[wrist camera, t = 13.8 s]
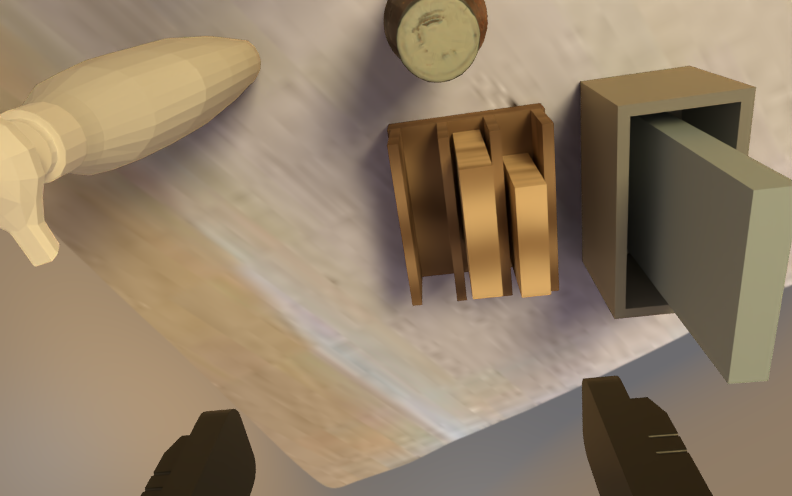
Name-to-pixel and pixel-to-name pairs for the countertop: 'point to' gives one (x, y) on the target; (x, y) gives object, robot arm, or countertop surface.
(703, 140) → the tall sheet
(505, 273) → the rack
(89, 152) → the soap bottle
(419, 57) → the sauce bottle
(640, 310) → the bin
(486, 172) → the oak offcut
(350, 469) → the countertop surface
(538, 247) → the beech offcut
